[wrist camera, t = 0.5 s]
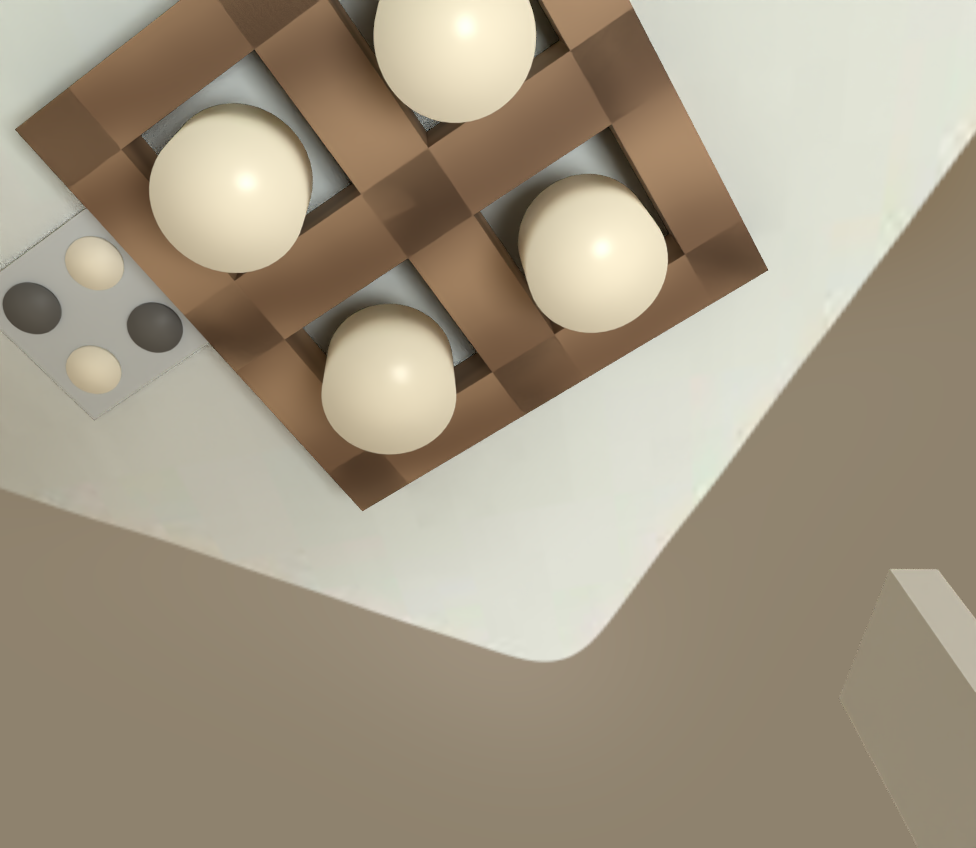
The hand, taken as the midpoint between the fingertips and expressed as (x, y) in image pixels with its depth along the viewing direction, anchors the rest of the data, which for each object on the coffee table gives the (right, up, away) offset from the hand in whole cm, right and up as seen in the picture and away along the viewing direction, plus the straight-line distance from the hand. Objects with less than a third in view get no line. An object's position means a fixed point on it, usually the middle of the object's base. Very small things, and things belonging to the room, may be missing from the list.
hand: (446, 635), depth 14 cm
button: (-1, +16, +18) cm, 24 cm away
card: (-16, +8, +25) cm, 30 cm away
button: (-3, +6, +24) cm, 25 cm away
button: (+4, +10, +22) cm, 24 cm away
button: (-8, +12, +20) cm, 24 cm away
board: (-2, +12, +23) cm, 27 cm away
